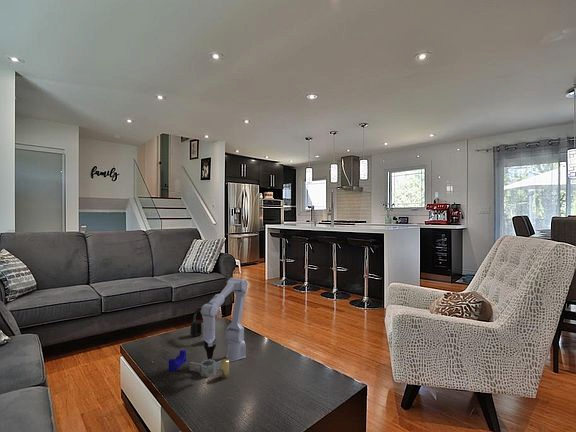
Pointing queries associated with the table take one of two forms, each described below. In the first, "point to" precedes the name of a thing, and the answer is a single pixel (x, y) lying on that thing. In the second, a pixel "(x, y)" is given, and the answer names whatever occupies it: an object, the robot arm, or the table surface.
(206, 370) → the steel hinge
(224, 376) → the brass pin
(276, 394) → the table surface
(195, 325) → the headphones
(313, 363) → the table surface
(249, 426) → the table surface
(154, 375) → the table surface
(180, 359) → the cable clip
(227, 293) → the robot arm
